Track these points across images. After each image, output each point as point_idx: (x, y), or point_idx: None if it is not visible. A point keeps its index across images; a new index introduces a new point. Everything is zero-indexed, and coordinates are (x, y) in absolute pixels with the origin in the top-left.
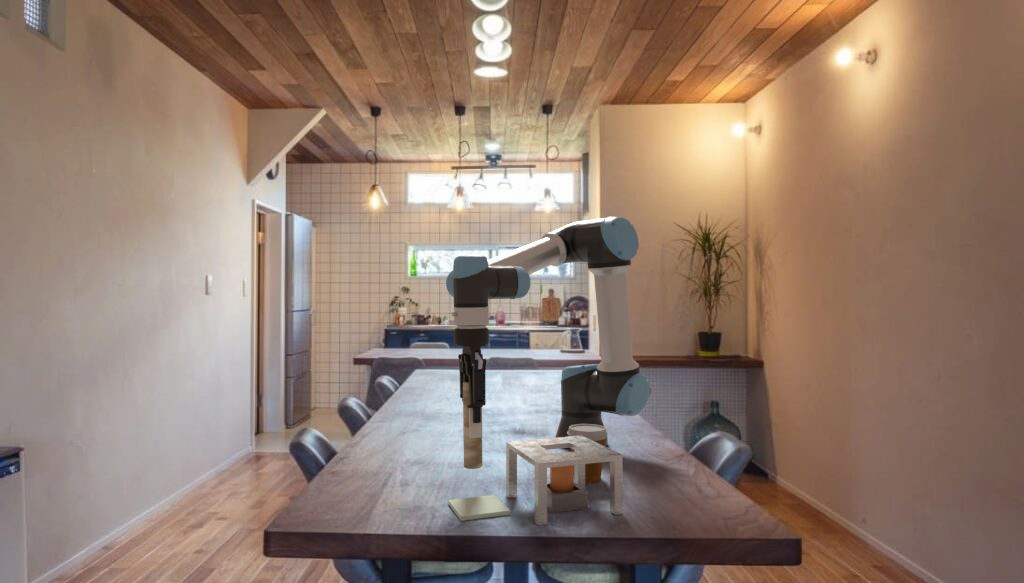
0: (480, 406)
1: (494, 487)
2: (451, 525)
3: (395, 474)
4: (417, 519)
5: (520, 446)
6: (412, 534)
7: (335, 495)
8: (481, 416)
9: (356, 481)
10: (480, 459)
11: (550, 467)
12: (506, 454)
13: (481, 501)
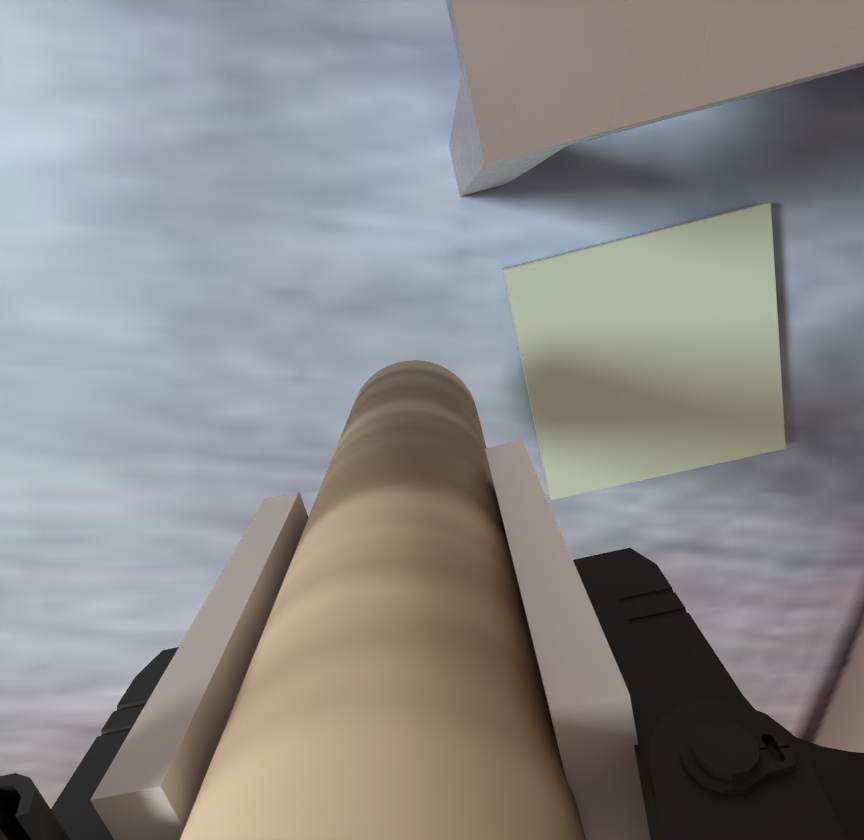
0: (844, 766)
1: (310, 253)
2: (812, 479)
3: (102, 713)
4: (707, 602)
5: (738, 6)
6: (857, 612)
7: None
8: (577, 577)
9: None
10: (458, 390)
11: None
12: (484, 174)
13: (600, 346)
